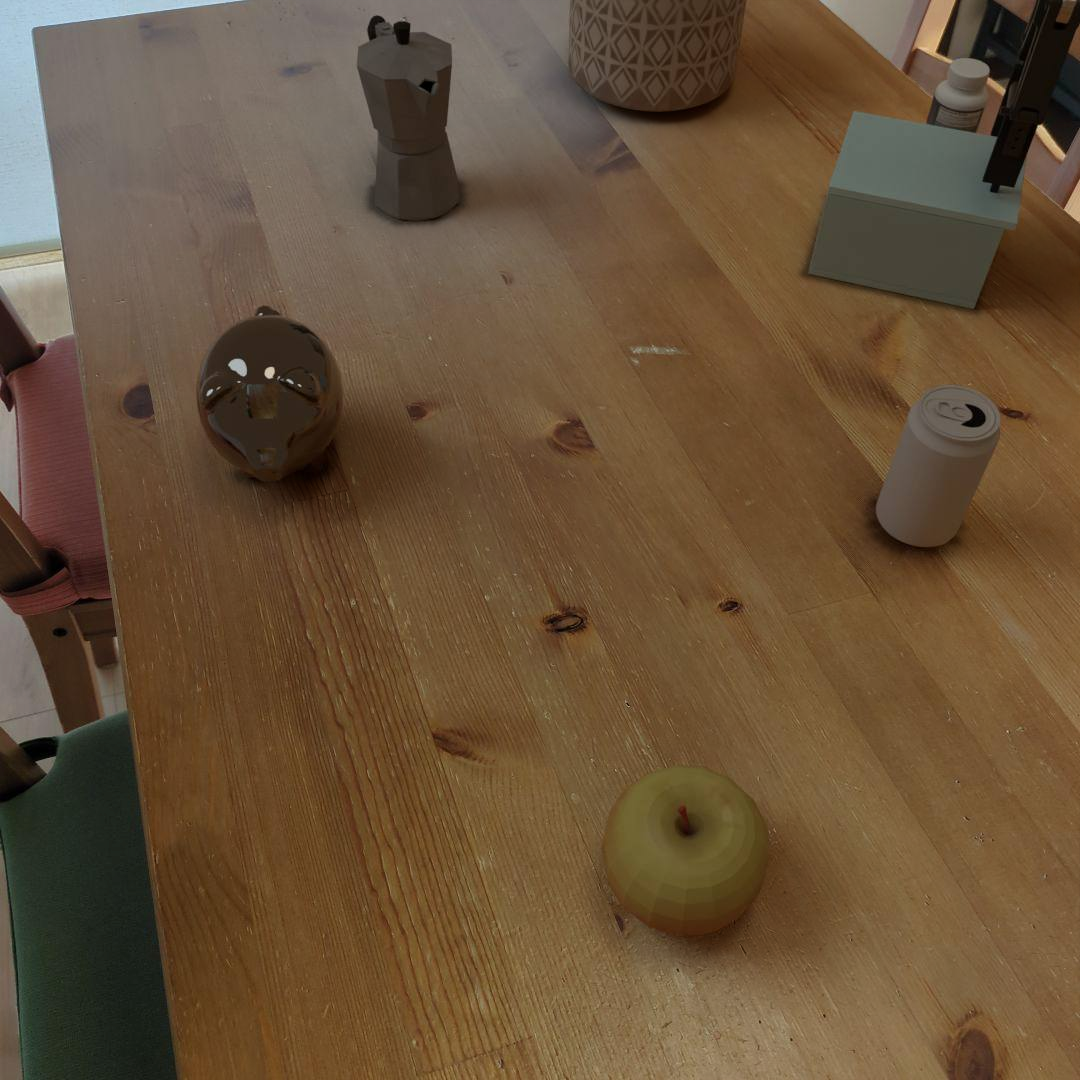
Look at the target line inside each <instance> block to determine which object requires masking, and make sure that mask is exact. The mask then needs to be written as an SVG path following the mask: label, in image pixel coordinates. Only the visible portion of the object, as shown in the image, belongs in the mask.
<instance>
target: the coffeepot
mask: <svg viewBox="0 0 1080 1080" xmlns="http://www.w3.org/2000/svg"><path fill="white" fill-rule="evenodd" d="M366 32H367V38H368V41H366V42H365V43H363V44H361V45H359V46H357V56H356V57H357V59H356V70H357V72H358V76H359V80H360V83H361V86H362V90H363V93H364V97H365V101H366V105H367V108H368V111H369V115H370V119H371V122H372V123H371V124H372V126H373V129H374V130H376V131H377V145H376V146H377V147H376V167H375V168H376V171H375V189H374V190H375V192H374V206H375V207H377V208H378V209H379V210H380V211H381V212H383V213H385V214H386V215H388V216H390V217H391V218H394V219H395V218H396V219H397V220H398V219H399V220H404V221H410V222H411V221H415V222H416V221H417V222H418V221H419V222H420V221H427V220H432V219H436V218H438V217H441V216H443V215H445V214H448V212H450V211H451V210H453V209H454V208H455V206H456V205H457V204H459V203H460V182H459V178H458V173H457V170H456V165H455V161H454V156H453V153H452V150H451V145H450V141H449V137H448V132H447V131H446V127H447V126H448V116H449V106H450V105H449V104H450V91H451V82H452V68H453V50H452V49H453V48H452V43H451V42H447V41H445V40H443V39H441V38H438V37H437V36H434V35H432V34H429V33H427V32H426V31H411V22H409V21H407V20H399V21H396V22H394V23H393V25H392V24H391V23H390V22H389V21H387V20H386V19H385V18H384V17H383V16H381V15H378V14H377V15H373V16H372V17H370V20H369V21H368V25H367V27H366Z"/></svg>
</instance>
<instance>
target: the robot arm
mask: <svg viewBox="0 0 1080 1080" xmlns="http://www.w3.org/2000/svg"><path fill="white" fill-rule="evenodd" d="M1030 13H1031V14H1030V16H1029V19H1028V21H1027V25H1026V27H1025V30H1024V32H1022V35H1021V37H1020V40H1021V42H1020V44H1021V47H1020V48H1019V49H1018V50H1017V54H1016V56H1017V61H1018V62H1021V63H1015V62H1014V65H1013V68H1012V71H1011V74H1010V77H1009V79H1008V83H1007V85H1006V88H1005V91H1004V93H1003V97H1002V99H1001V102H1000V105H999V108H998V111H997V113H996V116H995V119H994V122H993V125H992V128H991V131H990V135H989V136H994V137H997V139H996V142H995V145H994V148H993V151H992V153H991V156H990V159H989V162H988V165H987V168H986V170H985V173H984V176H983V180H982V182H986V183H991V184H996V185H1001V186H1007V187H1012V188H1014V187H1015V184H1016V182H1017V179H1018V176H1019V174H1020V171H1021V169H1022V166H1023V163H1024V161H1025V158H1026V156H1027V157H1028V153H1029V150H1030V148H1031V145H1032V142H1033V140H1034V138H1035V135H1036V132H1037V129H1038V127H1039V126H1042V125H1043V123H1044V122H1045V120H1046V118H1047V114H1046V113H1047V110H1048V108H1049V105H1050V103H1051V100H1052V97H1053V94H1054V92H1055V88H1056V86H1057V83H1058V80H1059V78H1060V75H1061V72H1062V70H1063V67H1064V65H1065V62H1066V59H1067V56H1068V53H1069V50H1070V48H1071V45H1072V43H1073V40H1074V38H1075V35H1076V32H1077V30H1078V28H1079V27H1080V0H1035V1H1034V5H1033V8H1032V11H1031V12H1030ZM1019 78H1020V81H1019V84H1018V87H1017V90H1016V93H1015V96H1014V99H1013V102H1012V104H1011V105H1010V106H1009V107H1006V106H1007V100H1008V94H1009V89H1010V86H1011V84H1012V83H1013V82H1014V81H1015V80H1017V79H1019ZM1026 159H1027V158H1026Z"/></svg>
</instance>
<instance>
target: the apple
mask: <svg viewBox="0 0 1080 1080" xmlns="http://www.w3.org/2000/svg"><path fill="white" fill-rule="evenodd" d="M607 815H608V816H607V819H606V825H605V831H604V834H603V835H604V836H603V841H602V845H601V852H602V858H603V864H604V868H605V874H606V879H607V883H608V886H609V888H610V889H611V890H612V892H613V894H614V895H615V896H616V898H617V899H618V901H619V903H620V904H621V906H622V907H623V909H624V910H625V911H627V912H628V913H629V914H631V915H632V916H633V917H634V918H636V919H637V920H639V921H640V922H641V923H643V924H644V925H646V926H647V927H648V928H651V929H655V930H658V931H660V932H661V931H662V932H665V933H667V934H673V935H676V936H679V937H681V936H691V935H703V934H704V935H705V934H711V933H713V932H715V931H718V930H720V929H721V928H723V927H725V926H727V925H729V924H731V923H734V922H735V921H737V920H738V919H739V918H741V916H742V914H743V913H744V912H745V911H747V909H748V907H749V906H750V905H751V904H752V903H753V902H754V900H756V898H757V897H758V895H759V894H760V892H761V889H762V886H763V882H764V880H765V876H766V873H767V869H768V866H769V863H770V857H771V849H770V842H769V841H770V839H769V830H768V825H767V823H766V821H765V818H764V817H763V815H762V812H761V811H760V809H759V807H758V805H757V803H756V801H755V800H754V798H753V797H751V796H750V795H749V794H748V793H747V792H746V791H745V790H744V789H743V788H742V787H740V785H738V783H736V782H735V781H734V780H733V779H732V778H731V777H729V776H727V775H724V774H722V773H720V772H718V771H716V770H713V769H711V768H709V767H706V766H699V765H690V764H689V765H686V764H675V765H671V766H667V767H663V768H659V769H656V770H652V771H649V772H647V773H645V774H644V775H643V776H641V777H640V778H638V779H637V780H635V781H634V782H632V783H631V784H629V785H628V786H626V787H625V788H624V789H623V790H622V792H621V794H620V796H618V798H617V800H616V801H615V802H614V804H613V806H612V807H611V809H610V810H609V812H608V814H607Z"/></svg>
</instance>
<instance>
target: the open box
mask: <svg viewBox="0 0 1080 1080" xmlns="http://www.w3.org/2000/svg"><path fill="white" fill-rule="evenodd" d="M1005 230H1006V229H1004V228H999V227H994V226H989V225H983V224H978V223H973V222H968V221H963V220H958V219H953V218H948V217H943V216H938V215H933V214H928V213H923V212H918V211H913V210H908V209H903V208H898V207H893V206H888V205H883V204H878V203H873V202H868V201H863V200H858V199H853V198H848V197H842V196H837V195H832V194H828V193H827V192H826V197H825V200H824V204H823V209H822V213H821V217H820V222H819V226H818V231H817V234H816V239H815V242H814V247H813V251H812V254H811V260H810V263H809V267H808V272H807V273H808V275H812V276H817V277H820V278H821V277H822V278H827V279H831V280H835V281H840V282H845V283H850V284H854V285H858V286H862V287H866V288H867V287H868V288H873V289H877V290H882V291H887V292H891V293H894V294H895V293H896V294H900V295H904V296H909V297H914V298H919V299H924V300H928V301H933V302H938V303H943V304H946V305H952V306H957V307H961V308H966V309H971V310H974V309H975V307H976V305H977V302H978V300H979V297H980V294H981V292H982V289H983V287H984V284H985V282H986V279H987V277H988V274H989V272H990V269H991V266H992V264H993V261H994V259H995V256H996V253H997V252H998V248H999V245H1000V243H1001V241H1002V238H1003V236H1004V233H1005Z"/></svg>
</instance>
